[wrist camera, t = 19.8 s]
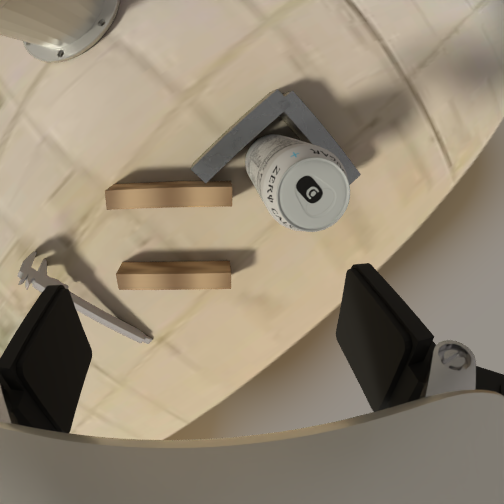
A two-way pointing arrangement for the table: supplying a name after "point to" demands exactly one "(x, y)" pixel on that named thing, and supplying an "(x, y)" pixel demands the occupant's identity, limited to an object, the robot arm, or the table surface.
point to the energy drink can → (298, 182)
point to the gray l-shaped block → (257, 121)
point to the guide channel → (171, 272)
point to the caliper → (77, 300)
